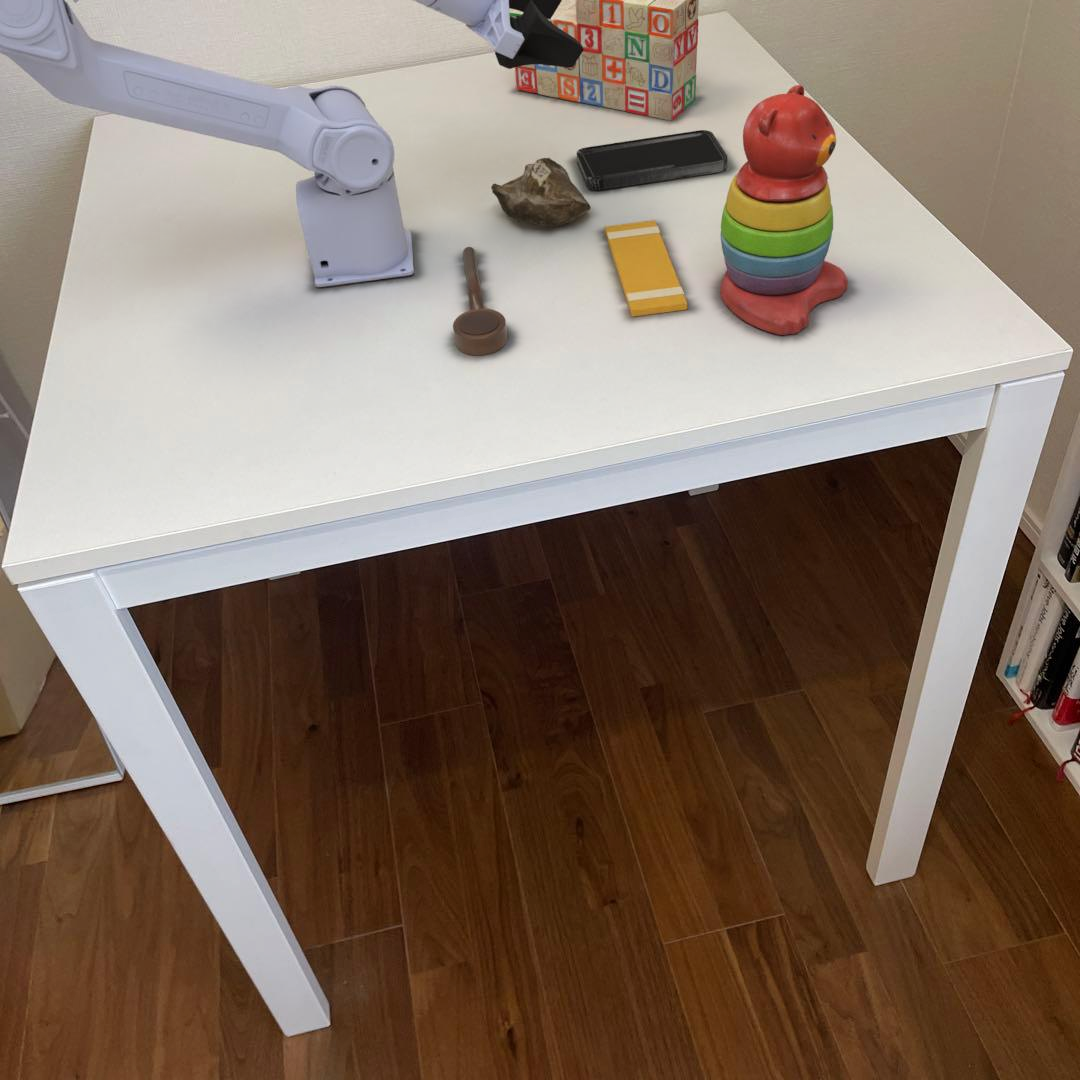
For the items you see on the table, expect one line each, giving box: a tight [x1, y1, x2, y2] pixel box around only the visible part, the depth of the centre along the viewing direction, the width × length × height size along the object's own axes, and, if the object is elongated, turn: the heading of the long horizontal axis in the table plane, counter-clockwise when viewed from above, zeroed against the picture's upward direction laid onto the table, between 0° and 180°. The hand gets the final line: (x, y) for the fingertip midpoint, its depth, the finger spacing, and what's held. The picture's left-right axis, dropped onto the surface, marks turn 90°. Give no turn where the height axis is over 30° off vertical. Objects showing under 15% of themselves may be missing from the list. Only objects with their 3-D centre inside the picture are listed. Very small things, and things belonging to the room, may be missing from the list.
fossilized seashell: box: [490, 157, 592, 228], centre depth 110 cm, size 8×7×10 cm
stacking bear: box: [719, 84, 849, 336], centre depth 92 cm, size 11×10×18 cm
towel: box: [604, 219, 688, 318], centre depth 103 cm, size 5×15×1 cm, turn 7°
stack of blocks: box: [509, 0, 700, 122], centre depth 126 cm, size 21×6×12 cm, turn 58°
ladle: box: [452, 246, 508, 357], centre depth 101 cm, size 17×5×2 cm, turn 7°
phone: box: [576, 129, 728, 191], centre depth 117 cm, size 8×1×15 cm
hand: (565, 31), depth 101 cm, fingers open, 7 cm apart
